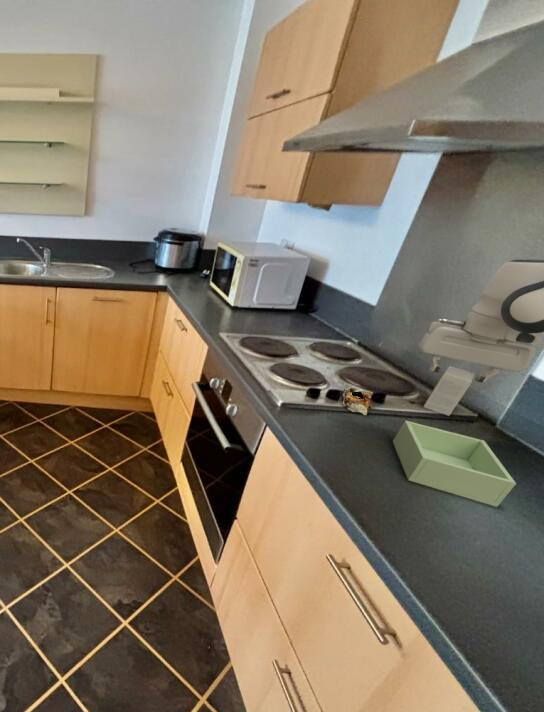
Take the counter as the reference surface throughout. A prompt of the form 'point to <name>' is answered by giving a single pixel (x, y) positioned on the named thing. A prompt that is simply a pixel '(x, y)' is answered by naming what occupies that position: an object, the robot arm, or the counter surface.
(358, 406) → the pastry
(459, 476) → the sorting bin
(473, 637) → the counter surface
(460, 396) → the small box
